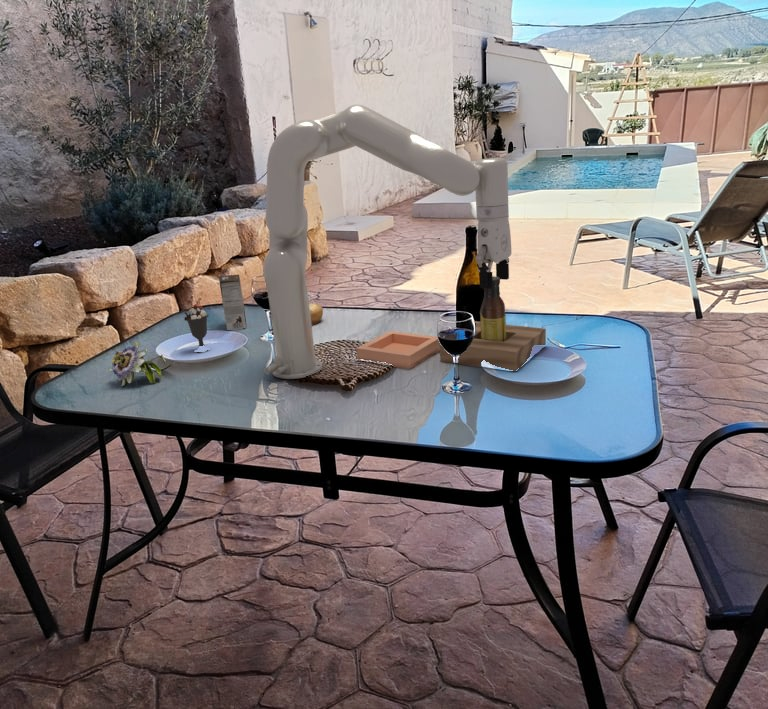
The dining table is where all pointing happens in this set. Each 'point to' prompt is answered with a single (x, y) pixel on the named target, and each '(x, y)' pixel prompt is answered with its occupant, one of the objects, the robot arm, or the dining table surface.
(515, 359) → the holder block
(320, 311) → the pastry
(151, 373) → the passion flower
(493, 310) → the sauce bottle
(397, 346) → the tray
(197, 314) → the sundae
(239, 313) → the coffee box
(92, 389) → the dining table surface
